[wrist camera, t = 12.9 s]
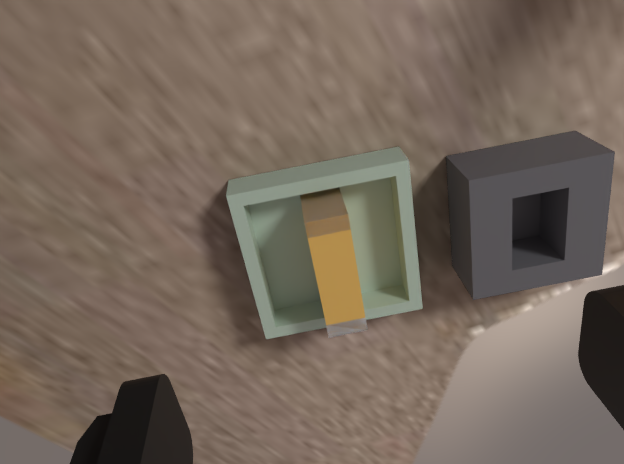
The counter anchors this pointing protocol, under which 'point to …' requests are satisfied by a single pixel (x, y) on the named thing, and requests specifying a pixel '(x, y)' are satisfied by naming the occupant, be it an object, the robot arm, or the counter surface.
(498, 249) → the block
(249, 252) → the parts tray
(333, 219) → the block
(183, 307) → the counter surface
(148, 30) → the counter surface
